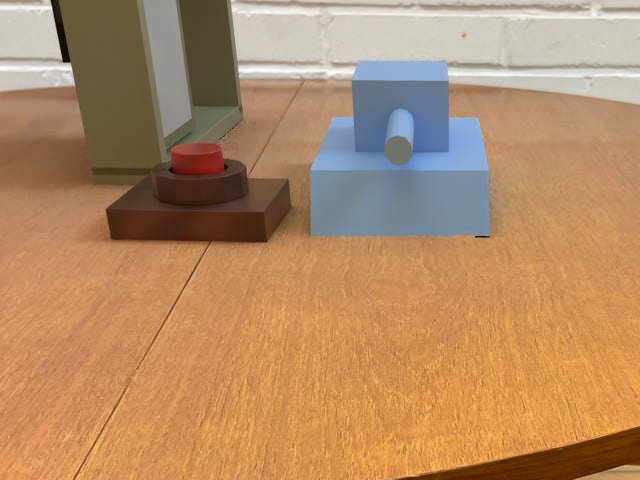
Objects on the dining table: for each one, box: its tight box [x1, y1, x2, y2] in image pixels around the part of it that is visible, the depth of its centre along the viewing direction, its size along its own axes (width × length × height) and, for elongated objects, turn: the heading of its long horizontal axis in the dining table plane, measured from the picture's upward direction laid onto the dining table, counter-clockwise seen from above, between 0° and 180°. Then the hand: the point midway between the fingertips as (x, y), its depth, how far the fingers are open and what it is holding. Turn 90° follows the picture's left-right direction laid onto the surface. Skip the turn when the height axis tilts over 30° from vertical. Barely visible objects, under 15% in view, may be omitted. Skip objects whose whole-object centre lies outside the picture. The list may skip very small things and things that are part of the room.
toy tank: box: [309, 60, 491, 237], centre depth 76 cm, size 22×9×13 cm
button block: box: [105, 157, 292, 243], centre depth 70 cm, size 11×9×4 cm
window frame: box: [59, 0, 244, 186], centre depth 87 cm, size 6×28×18 cm, turn 179°
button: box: [170, 143, 225, 175], centre depth 69 cm, size 4×4×2 cm
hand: (83, 59), depth 89 cm, fingers closed on sash, 2 cm apart
